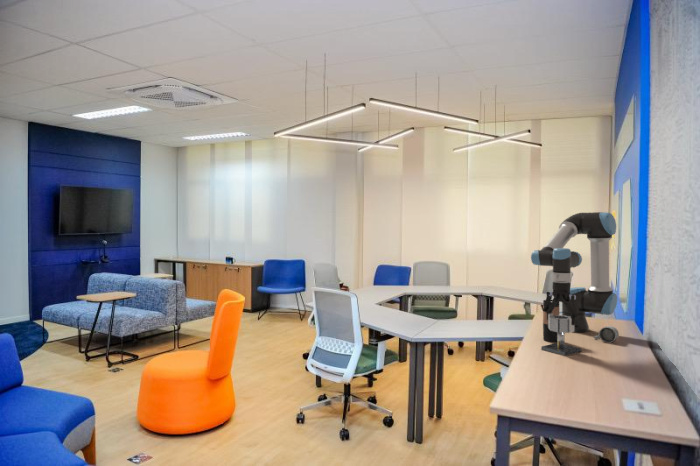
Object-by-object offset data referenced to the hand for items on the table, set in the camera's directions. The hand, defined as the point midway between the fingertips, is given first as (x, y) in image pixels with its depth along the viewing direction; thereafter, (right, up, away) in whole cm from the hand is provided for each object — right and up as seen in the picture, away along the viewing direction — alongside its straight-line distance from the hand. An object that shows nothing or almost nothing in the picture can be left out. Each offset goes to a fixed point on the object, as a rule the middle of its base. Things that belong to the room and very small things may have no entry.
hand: (560, 329), depth 216 cm
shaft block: (0, -10, 0) cm, 10 cm away
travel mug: (+4, -10, +19) cm, 22 cm away
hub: (0, 0, 0) cm, 0 cm away
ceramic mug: (+31, -10, +18) cm, 37 cm away
